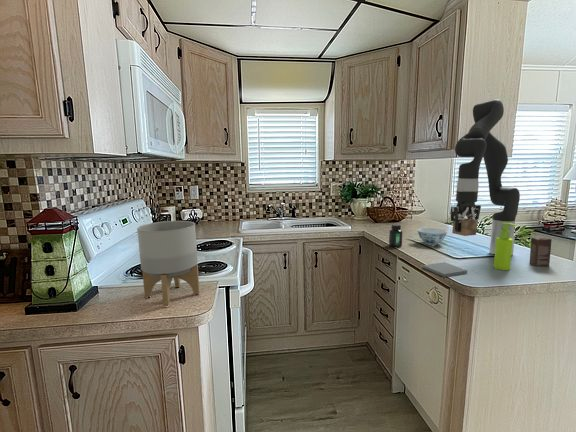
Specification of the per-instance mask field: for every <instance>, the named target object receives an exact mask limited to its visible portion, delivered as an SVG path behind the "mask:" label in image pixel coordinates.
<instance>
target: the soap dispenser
mask: <svg viewBox="0 0 576 432" xmlns="http://www.w3.org/2000/svg"><path fill="white" fill-rule="evenodd" d="M501 224H503V229H502V230H501V231H500V237H497V238H496V247H495V255H494V258H493V259H494V260H493V268H494V269H496V270H500V271H509V270H511V265H512V264H511V261H512V255H513V254H512V244H513V239H511V238H509V237H510V231H509V230H508V225H511V226H515V227H517V226H518V225H517V224H516V223H515V224H513V223H501ZM511 254H512V255H511Z"/></svg>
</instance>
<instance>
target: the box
mask: <svg viewBox="0 0 576 432" xmlns="http://www.w3.org/2000/svg"><path fill="white" fill-rule="evenodd" d="M551 249H552V239H551V238H549V237H531V238H530V253H529V264H530V265H532V266H535V267H539V266H540V267H541V266H543V267H545V266H550V263H551V261H550V260H551V252H552V250H551Z"/></svg>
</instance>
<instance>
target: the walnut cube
mask: <svg viewBox="0 0 576 432" xmlns="http://www.w3.org/2000/svg"><path fill="white" fill-rule="evenodd" d="M459 218H460V217H459ZM459 218H458V219H459ZM477 225H478V220H474V219H468V218H467V217H464V218H463V219H462V222H461V232H456V231H455V222H454V221H452V231H451V232H452V234H455V235H458V236H464V237H468V236H476V235H477Z"/></svg>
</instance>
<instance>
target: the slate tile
mask: <svg viewBox="0 0 576 432" xmlns="http://www.w3.org/2000/svg"><path fill="white" fill-rule="evenodd" d="M422 269H425V270H426V271H429V272H431V273H434V274H436V275H439V276H441V277H444V278H445V277H453V276H458V275H464V274H468V269H465V268H462V267H459V266H456V265H453V264H451V263H448V262H446V261H444V262H438V263H429V264H423V266H422Z"/></svg>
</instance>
